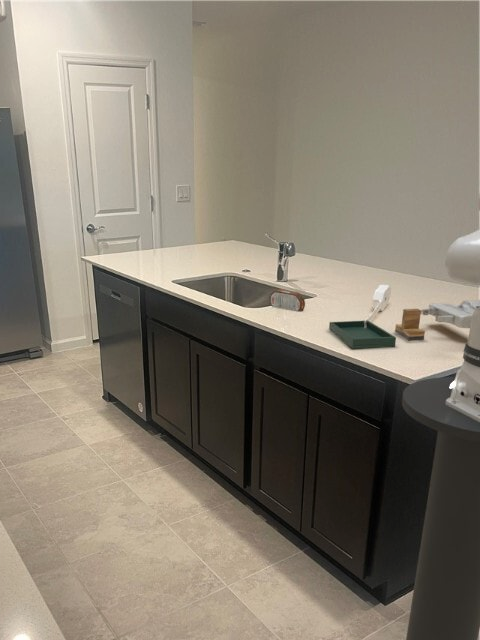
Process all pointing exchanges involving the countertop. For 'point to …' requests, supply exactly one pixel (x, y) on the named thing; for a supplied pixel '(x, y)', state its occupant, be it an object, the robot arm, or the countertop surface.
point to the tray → (362, 334)
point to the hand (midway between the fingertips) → (429, 315)
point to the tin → (287, 300)
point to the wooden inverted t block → (410, 325)
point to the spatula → (379, 301)
